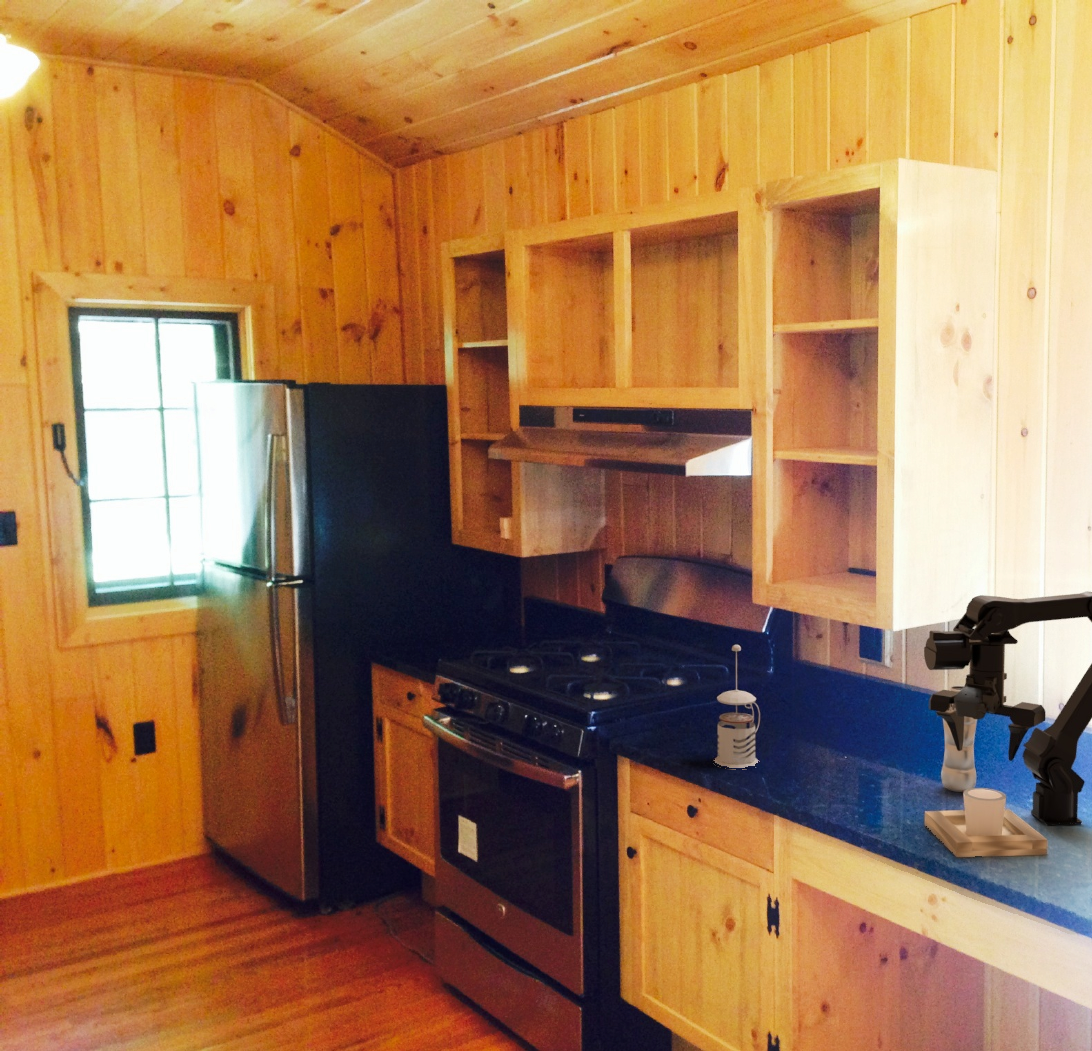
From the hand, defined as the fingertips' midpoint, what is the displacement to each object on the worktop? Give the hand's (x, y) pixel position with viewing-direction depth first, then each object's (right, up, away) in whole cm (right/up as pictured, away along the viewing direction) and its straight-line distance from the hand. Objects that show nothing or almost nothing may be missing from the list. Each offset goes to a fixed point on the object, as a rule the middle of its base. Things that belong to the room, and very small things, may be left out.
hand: (985, 755), depth 208 cm
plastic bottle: (+2, -10, +18) cm, 21 cm away
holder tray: (-3, -13, -7) cm, 15 cm away
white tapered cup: (-3, -12, -7) cm, 14 cm away
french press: (-37, -9, +39) cm, 54 cm away
